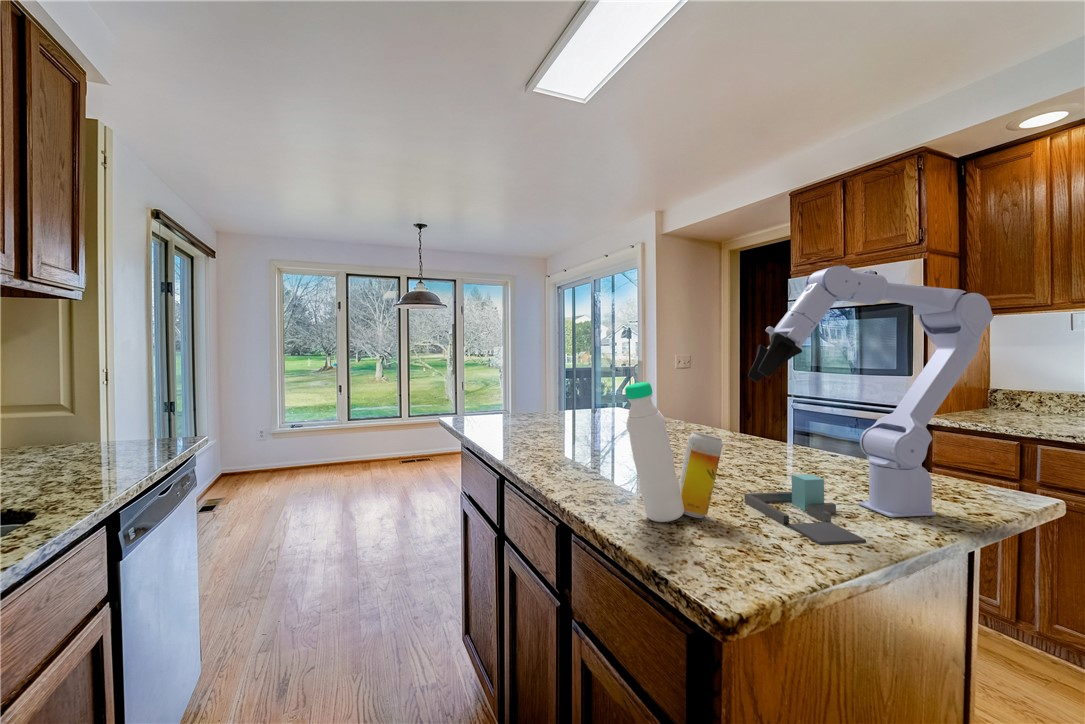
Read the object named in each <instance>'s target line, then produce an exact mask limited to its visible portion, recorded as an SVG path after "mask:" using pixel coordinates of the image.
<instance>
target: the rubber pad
mask: <svg viewBox="0 0 1085 724" xmlns="http://www.w3.org/2000/svg"><path fill="white" fill-rule="evenodd" d="M787 527H789V528H790V529H792V530H794V531H795V532H797V533H799V534H801V535H802V536H804V537H806V538H807V539H809V540H811V541H813V542H814V543H816V544H818V545H837V544H841V543H842V544H856V543H857V544H858V543H867V539H865V538H863V537H862V536H859V535H857V534H855V533H853V532H851V531H849V530H847V529H846V528H843V527H841V526H839V525H837V524H836V523H833V522H832V521H831V522H805V523H804V522H802V523H789V524H788V525H787Z"/></svg>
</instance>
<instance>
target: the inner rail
mask: <svg viewBox="0 0 1085 724" xmlns="http://www.w3.org/2000/svg"><path fill="white" fill-rule="evenodd" d="M806 514H807V515H808V516H809V517H812V518H814V519H816V520H817V521H820V523H822V522H831V523H832V515H836V514H837V504H836V503H834V502H824V503H815V504H808V505H807V511H806Z"/></svg>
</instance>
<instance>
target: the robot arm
mask: <svg viewBox="0 0 1085 724" xmlns="http://www.w3.org/2000/svg"><path fill="white" fill-rule="evenodd" d="M965 293H966V294H965ZM837 300H838V301H842V302H844V301H845V302H849V303H851V302H852V303H858V304H864V305H865V304H866V305H869V306H871V305H872V306H873V305H876V304H878V303H880V302H882V301H888V302H891V303H897V304H902V305H908V306H913V309H912V314H913V316H917V320H918V321H919V322H918V323H919V324H920V326H921V327H922V329H923V331H924V332H925V334H926V335H927V337H928V339H929V340H930V341H931V343H932V344H933V345H935V346H936V350H935V351H934V353H933V354H932V356H931V357H930V359H929V360H928V361H927V363H926V365H925V366H924V367H923V369H922V370H921V371H920V373H919V375H918V376H917V378H916V379H915V380H914V382H913V383H912V385H911V386H910V387H909V389H908V390H907V392H906V393H905V394H904V396H903V397H902V399H901V401H899V403H898V405H897V406H896V407H895V409H894V410H893V412H891V413H889V414H886V415H885V416H882V417H880V418H877V420H876V422H875V423H874V424H873V425H872V426H870V427H868V428H866V429H865V430H863V432H862V433H861V435H860V438H859V447H860V449H861V451H862V452H863V453H864V454H865V455H866V461H868V501H866V500H865V501H857V504H858V505H859V506H861V507H863V508H866V509H869V510H871V511H873V512H876V513H879V514H881V515H884V516H887V517H890V518H901V517H904V518H905V517H924V516H925V517H926V516H927V517H929V516H937V512H935V511H933V510H932V509H933V508H932V507H933V505H932V504H933V502H932V501H933V492H932V491H933V484H932V482H933V481H932V478H931V475H930V473H929V472H928V470H927V469H926V468H925V467H923V466H922V463H924V461H925V460H926V457H927V454H928V448H929V445H930V444H931V442H932V441H933V436H932V435H931V433H930V431H929V430H928V429H927V426H928V424H929V423H930V422H931V420H932V418H933V417H934V415H935V414H936V413H937V411H938V409H939V408H940V407H941V406H942V404H943V402H944V401H945V400H946V399H947V397H948V395H949V394H950V392H951V391H952V389H953V388H955V385H956V383H957V382H958V381H959V379H960V378H961V377H962V376H963V374H964V372H965V371H966V369H967V368H968V367H969V365H970V363H971V362H972V361H973V360H974V358H975V357H976V355H977V353H978V352H979V351H978V350H979V347H980V343H981V340H982V336H983V334H984V332H985V331H986V329H987V328H988V327H989V325H990V323H991V322H992V320H993V319H994V315H993V312H992V308H991V305H990V302H989V300H988V299H987V298H986V297H985V296H984V295H982V294H980V293H978V292H971V293H967V291H965V290H963V289H959V288H958V289H955V288H946V287H945V288H944V287H935V286H934V287H933V286H925V285H923V286H922V285H913V284H903V283H893V282H888V280H887V279H886V277H885V276H883V275H881V274H876V270H870V269H868V270H864V271H862V272H861V271H854V270H852V269H851V267H849V266H847V265H844V264H843V265H834V266H830V267H827V268H824V269H820V270H817V271H814V272H812V273H811V275H808V276H806V278H805V281H804V289H803V291H802V293H801V294H799V295H798V297H797V299H795V301H794V302H793V303H792V305H791V306H790V308H789V309H788V310H787V312H786V313H785V314H784V316H783V317H782V318H781V319H780V320H779V322H778V323H777V324H776V326H775V327H773V326H767V327H766V329H765V330H764V331H765V332H766V333H767V334H769V345H768V346H767V347H766V346H764V345H763V344H759V345H758V346H757V351H756V357H755V359H754V361H753V364H752V366H751V367H750V370H749V372H748V374H747V377H748V378H749V379H750V380H752V381H754V383H758V382H760V381H761V380H763V378H765V377H766V378H769V377H771V375H773V374H774V373H775V372H776V371H778V370H779V369H780V368H781V367H782V366H783V365H784V364H785V363H787V362H788V361H789V360H791V359H792V358H794V357H795V356H797V355H800V354H802V353H803V349H802V348H803V345H804V343H805V342H806V341H807V339H808V338H809V337H810V335H811V334H812V332H814V330H815V329H816V327H817V326H818V325H819V324H820V322H821V321H822V320H823V318H824V317H825V316H826V315H827V313H828V312H829V310H830V309H831V308H832V306H833V305H834V304H835V302H836V301H837Z"/></svg>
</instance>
